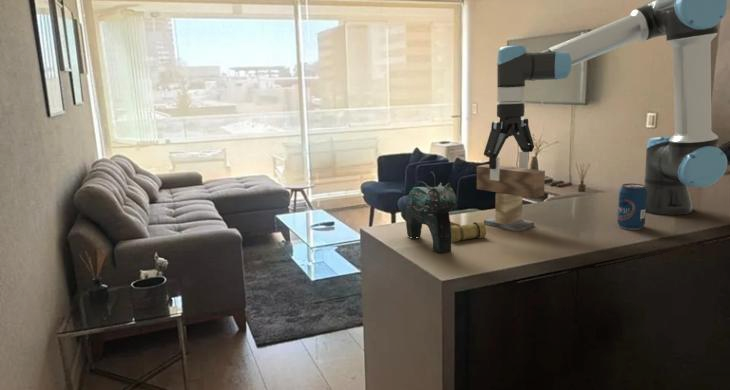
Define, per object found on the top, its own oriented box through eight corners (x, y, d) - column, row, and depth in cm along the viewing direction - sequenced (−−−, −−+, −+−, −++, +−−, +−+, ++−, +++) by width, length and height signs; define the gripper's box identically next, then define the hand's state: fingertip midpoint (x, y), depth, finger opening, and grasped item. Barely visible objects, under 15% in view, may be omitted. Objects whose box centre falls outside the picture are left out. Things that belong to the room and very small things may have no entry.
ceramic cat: (458, 253, 128) (458, 175, 124) (436, 257, 126) (435, 177, 122) (419, 233, 146) (418, 165, 142) (399, 237, 144) (397, 167, 140)
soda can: (611, 226, 145) (614, 185, 143) (627, 222, 149) (630, 182, 146) (634, 231, 139) (637, 188, 137) (650, 227, 143) (653, 185, 140)
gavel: (420, 215, 155) (449, 211, 158) (421, 230, 156) (450, 225, 159) (453, 227, 135) (486, 222, 138) (454, 244, 136) (486, 239, 139)
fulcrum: (534, 226, 149) (535, 192, 147) (517, 231, 144) (518, 197, 142) (500, 218, 158) (500, 187, 156) (483, 223, 153) (483, 191, 151)
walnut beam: (544, 195, 143) (544, 170, 141) (533, 198, 140) (534, 173, 138) (487, 186, 158) (487, 164, 157) (476, 188, 155) (476, 166, 154)
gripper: (525, 100, 154) (524, 169, 158) (471, 105, 139) (470, 181, 144) (547, 100, 148) (545, 172, 152) (493, 105, 133) (492, 184, 138)
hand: (509, 176), depth 148 cm, fingers open, 13 cm apart
